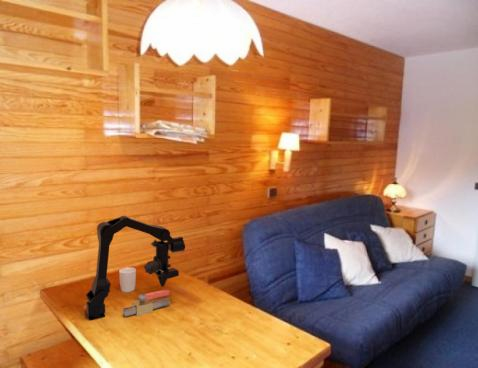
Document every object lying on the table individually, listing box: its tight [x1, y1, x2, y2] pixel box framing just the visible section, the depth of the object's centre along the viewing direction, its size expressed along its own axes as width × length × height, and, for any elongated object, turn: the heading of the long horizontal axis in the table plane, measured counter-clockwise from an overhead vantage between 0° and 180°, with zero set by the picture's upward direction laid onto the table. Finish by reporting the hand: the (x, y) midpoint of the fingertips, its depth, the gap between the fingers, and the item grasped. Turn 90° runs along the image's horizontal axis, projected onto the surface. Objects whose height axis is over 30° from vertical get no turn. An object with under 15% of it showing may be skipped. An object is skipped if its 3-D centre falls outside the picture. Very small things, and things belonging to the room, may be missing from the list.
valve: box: [122, 296, 171, 318], centre depth 163 cm, size 20×6×5 cm, turn 125°
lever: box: [138, 288, 170, 301], centre depth 164 cm, size 14×3×2 cm, turn 123°
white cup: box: [118, 267, 137, 293], centre depth 183 cm, size 8×8×10 cm
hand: (162, 286), depth 172 cm, fingers closed
